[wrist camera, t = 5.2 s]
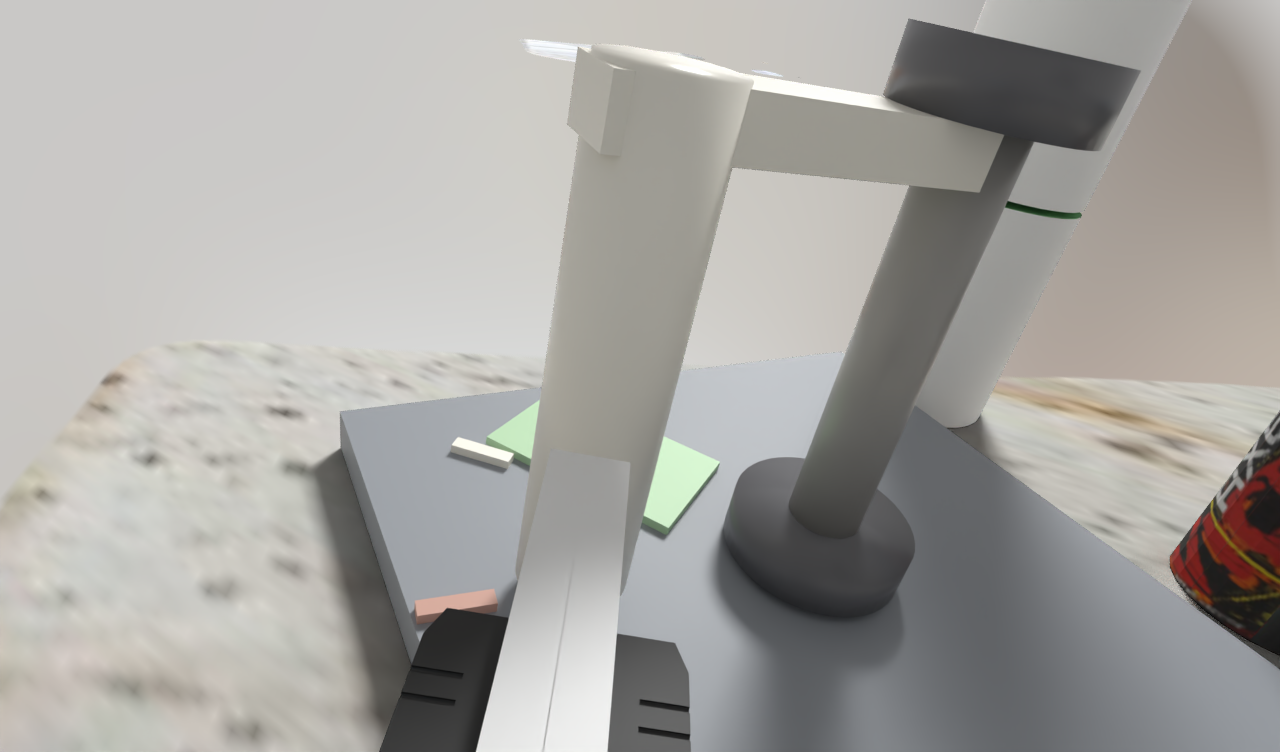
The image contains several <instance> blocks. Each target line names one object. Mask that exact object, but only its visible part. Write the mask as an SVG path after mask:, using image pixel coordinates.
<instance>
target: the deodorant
mask: <svg viewBox="0 0 1280 752" xmlns="http://www.w3.org/2000/svg"><path fill="white" fill-rule="evenodd" d="M1170 567H1171V570H1172V572H1173V574H1174V576H1175V578H1176V580H1177V581H1178V582H1179V584H1180V585H1181V586H1182V587H1183V589H1184V590H1185V591H1186V593H1187V594H1188V595H1189V596H1190V597H1191V598H1192V599H1193V600H1194V601H1196V602H1197V603H1198V604H1199V605H1200V606H1201V607H1202V608H1203V609H1204V610H1205V611H1207V612H1208V613H1209V614H1211V615H1212V616H1213V617H1214V618H1216V619H1217V620H1218V621H1220V622H1221V623H1222V624H1224V625H1225V626H1227V627H1228V628H1230V629H1231V630H1233V631H1235V632H1236V633H1238V634H1240V635H1241V636H1243V637H1244V638H1246V639H1248V640H1249V641H1251V642H1253V643H1255V644H1257V645H1259V646H1261V647H1263V648H1265V649H1267V650H1269V651H1271V652H1273V653H1276V654H1279V655H1280V411H1279V412H1278V414H1277V415H1276V416H1275V418H1274V419H1273V420H1272V422H1271V423H1270V424H1269V426H1268V427H1267V428H1266V430H1265V431H1264V432H1263V434H1262V435H1261V436H1260V438H1259V439H1258V440H1257V442H1256V443H1255V444H1254V445H1253V447H1252V448H1251V449H1250V451H1249V452H1248V453H1247V455H1246V456H1245V457H1244V459H1243V460H1242V461H1241V463H1240V464H1239V465H1238V467H1237V468H1236V469H1235V471H1234V472H1233V473H1232V475H1231V476H1230V477H1229V479H1228V480H1227V481H1226V483H1225V484H1224V485H1223V487H1222V488H1221V489H1220V491H1219V492H1218V493H1217V495H1216V496H1215V497H1214V499H1213V500H1212V501H1211V502H1210V504H1209V505H1208V506H1207V508H1206V509H1205V510H1204V512H1203V513H1202V514H1201V516H1200V517H1199V518H1198V520H1197V521H1196V522H1195V524H1194V525H1193V526H1192V528H1191V529H1190V530H1189V532H1188V533H1187V534H1186V536H1185V537H1184V538H1183V540H1182V541H1181V542H1180V544H1179V545H1178V546H1177V548H1176V549H1175V550H1174V552H1173V553H1172V554H1171V555H1170Z"/></svg>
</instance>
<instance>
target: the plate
mask: <svg viewBox="0 0 1280 752" xmlns="http://www.w3.org/2000/svg"><path fill="white" fill-rule="evenodd" d="M844 356H845V354H843V353H842V352H833V353H825V354H817V355H808V356H800V357H792V358H783V359H775V360H766V361H759V362H750V363H741V364H733V365H724V366H716V367H708V368H699V369H691V370H683V371H680V375H679V379H678V383H677V387H676V390H675V394H674V398H673V402H672V406H671V410H670V414H669V418H668V422H667V426H666V430H665V434H664V437H663V441H662V445H661V449H660V453H659V457H658V461H657V465H656V469H655V473H654V477H653V481H652V484H651V488H650V492H649V496H648V500H647V504H646V508H645V512H644V516H643V520H642V524H641V528H640V531H639V535H638V539H637V543H636V547H635V551H634V555H633V559H632V563H631V567H630V571H629V575H628V578H627V582H626V586H625V589H624V591H623V593H622V595H621V596H620V600H619V613H618V625H617V634H623V635H630V636H636V637H642V638H648V639H654V640H660V641H666V642H673V643H675V644H676V646H677V648H678V650H679V653H680V655H681V657H682V659H683V662H684V664H685V666H686V668H687V670H688V673H689V694H690V708H689V713H690V732H691V735H690V741H691V752H1280V669H1279V668H1277V667H1276V666H1275V665H1273V664H1272V663H1270V662H1269V661H1268V660H1266V659H1265V658H1263V657H1262V656H1261V655H1259V654H1258V653H1257V652H1255V651H1254V650H1252V649H1251V648H1250V647H1248V646H1247V645H1246V644H1244V643H1243V642H1241V641H1240V640H1239V639H1237V638H1236V637H1234V636H1233V635H1232V634H1230V633H1229V632H1228V631H1226V630H1225V629H1223V628H1222V627H1221V626H1219V625H1218V624H1217V623H1215V622H1214V621H1212V620H1211V619H1210V618H1208V617H1207V616H1205V615H1204V614H1203V613H1201V612H1200V611H1199V610H1197V609H1196V608H1194V607H1193V606H1192V605H1190V604H1189V603H1187V602H1186V601H1185V600H1183V599H1182V598H1181V597H1179V596H1178V595H1176V594H1175V593H1174V592H1172V591H1171V590H1170V589H1168V588H1167V587H1165V586H1164V585H1163V584H1161V583H1160V582H1158V581H1157V580H1156V579H1154V578H1153V577H1152V576H1150V575H1149V574H1147V573H1146V572H1145V571H1143V570H1142V569H1141V568H1139V567H1138V566H1136V565H1135V564H1134V563H1132V562H1131V561H1129V560H1128V559H1127V558H1125V557H1124V556H1123V555H1121V554H1120V553H1118V552H1117V551H1116V550H1114V549H1113V548H1111V547H1110V546H1109V545H1107V544H1106V543H1105V542H1103V541H1102V540H1100V539H1099V538H1098V537H1096V536H1095V535H1094V534H1092V533H1091V532H1089V531H1088V530H1087V529H1085V528H1084V527H1082V526H1081V525H1080V524H1078V523H1077V522H1076V521H1074V520H1073V519H1071V518H1070V517H1069V516H1067V515H1066V514H1065V513H1063V512H1062V511H1060V510H1059V509H1058V508H1056V507H1055V506H1053V505H1052V504H1051V503H1049V502H1048V501H1047V500H1045V499H1044V498H1042V497H1041V496H1040V495H1038V494H1037V493H1035V492H1034V491H1033V490H1031V489H1030V488H1029V487H1027V486H1026V485H1024V484H1023V483H1022V482H1020V481H1019V480H1018V479H1016V478H1015V477H1013V476H1012V475H1011V474H1009V473H1008V472H1006V471H1005V470H1004V469H1002V468H1001V467H1000V466H998V465H997V464H995V463H994V462H993V461H991V460H990V459H989V458H987V457H986V456H984V455H983V454H982V453H980V452H979V451H977V450H976V449H975V448H973V447H972V446H971V445H969V444H968V443H966V442H965V441H964V440H962V439H961V438H959V437H958V436H957V435H955V434H954V433H953V432H951V431H950V430H948V429H947V428H946V427H944V426H943V425H942V424H940V423H939V422H937V421H936V420H935V419H933V418H932V417H930V416H929V415H928V414H926V413H925V412H924V411H922V410H921V409H919V408H918V407H917V406H914V408H913V410H912V413H911V415H910V417H909V419H908V421H907V424H906V426H905V428H904V430H903V432H902V435H901V437H900V439H899V441H898V443H897V446H896V448H895V450H894V452H893V454H892V457H891V459H890V461H889V463H888V465H887V468H886V470H885V472H884V474H883V476H882V479H881V481H880V483H879V485H878V488H877V489H878V490H879V491H880V492H882V493H883V494H884V495H885V496H886V497H887V498H889V499H890V500H891V501H892V502H893V503H894V504H895V505H896V507H897V508H898V509H899V510H900V511H901V513H902V514H903V515H904V517H905V518H906V520H907V522H908V523H909V525H910V527H911V530H912V532H913V535H914V540H915V553H914V557H913V560H912V561H911V563H910V565H909V567H908V569H907V571H906V573H905V575H904V577H903V579H902V581H901V583H900V585H899V587H898V588H897V590H896V592H895V594H894V596H893V598H892V599H891V600H890V602H889V603H888V604H887V605H886V606H884V607H883V608H881V609H880V610H878V611H876V612H874V613H871V614H868V615H864V616H858V617H831V616H825V615H820V614H815V613H812V612H809V611H806V610H802V609H800V608H798V607H795V606H793V605H790V604H788V603H786V602H784V601H782V600H780V599H778V598H777V597H775V596H774V595H772V594H770V593H769V592H767V591H766V590H764V589H763V588H762V587H760V586H759V585H758V584H757V583H755V582H754V581H753V580H752V579H751V578H750V577H749V576H748V575H747V574H746V573H745V572H744V571H743V570H742V569H741V567H740V566H739V565H738V563H737V562H736V561H735V559H734V558H733V556H732V554H731V552H730V551H729V548H728V546H727V543H726V540H725V535H724V521H725V516H726V513H727V510H728V507H729V504H730V501H731V498H732V495H733V492H734V489H735V486H736V483H737V481H738V478H739V477H740V475H741V474H742V472H744V471H745V470H746V469H747V468H748V467H750V466H751V465H753V464H755V463H757V462H759V461H762V460H766V459H770V458H777V457H797V458H804V459H805V458H806V455H807V453H808V450H809V447H810V445H811V442H812V440H813V437H814V434H815V432H816V429H817V426H818V424H819V421H820V419H821V416H822V413H823V411H824V408H825V405H826V403H827V400H828V398H829V395H830V392H831V390H832V387H833V384H834V382H835V379H836V377H837V374H838V371H839V369H840V366H841V363H842V361H843V358H844ZM541 388H542V387H541ZM541 388H532V389H524V390H515V391H507V392H499V393H490V394H482V395H474V396H465V397H457V398H449V399H440V400H432V401H424V402H415V403H407V404H398V405H390V406H382V407H373V408H365V409H357V410H348V411H340V438H341V449H342V452H343V455H344V459H345V462H346V465H347V468H348V471H349V474H350V477H351V480H352V483H353V486H354V489H355V492H356V495H357V499H358V502H359V505H360V508H361V511H362V514H363V517H364V520H365V523H366V526H367V529H368V532H369V535H370V539H371V542H372V545H373V548H374V551H375V554H376V557H377V560H378V563H379V566H380V569H381V572H382V576H383V579H384V582H385V585H386V588H387V591H388V594H389V597H390V600H391V603H392V606H393V609H394V612H395V616H396V619H397V622H398V625H399V628H400V631H401V634H402V637H403V640H404V643H405V646H406V649H407V652H408V656H409V659H410V662H411V665H412V662H413V659H414V657H415V654H416V651H417V649H418V646H419V643H420V640H421V638H422V635H423V633H424V632H425V631H426V630H427V628H428V627H429V626H430V625H431V624H432V623H433V622H434V621H435V620H436V619H437V618H438V617H439V616H440V615H441V614H442V613H443V612H444V610H445V609H446V608H452V609H458V610H464V611H471V612H477V613H483V614H489V615H495V616H501V617H507V618H509V616H510V612H511V608H512V604H513V600H514V596H515V592H516V588H517V584H518V580H517V577H516V572H515V566H516V559H517V552H518V545H519V538H520V532H521V525H522V518H523V511H524V504H525V498H526V491H527V484H528V477H529V470H530V463H531V457H532V450H533V443H534V436H535V429H536V423H537V416H538V409H539V402H540V395H541Z"/></svg>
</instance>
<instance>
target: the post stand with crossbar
mask: <svg viewBox="0 0 1280 752" xmlns="http://www.w3.org/2000/svg"><path fill="white" fill-rule="evenodd" d="M1140 72H1141V70H1136V69H1132V68H1128V67H1123V66H1119V65H1114V64H1110V63H1105V62H1101V61H1096V60H1092V59H1087V58H1083V57H1079V56H1074V55H1070V54H1065V53H1061V52H1056V51H1052V50H1047V49H1043V48H1038V47H1034V46H1029V45H1025V44H1020V43H1016V42H1012V41H1007V40H1003V39H998V38H994V37H989V36H985V35H980V34H976V33H971V32H967V31H962V30H957V29H953V28H948V27H944V26H940V25H935V24H931V23H926V22H922V21H917V20H913V19H908V22H907V25H906V28H905V31H904V34H903V37H902V40H901V43H900V46H899V49H898V52H897V55H896V58H895V61H894V63H893V66H892V70H891V72H890V75H889V78H888V81H887V84H886V87H885V90H884V93H883V95H884V96H885V97H882V96H876V95H870V94H864V93H858V92H852V91H845V90H839V89H833V88H827V87H821V86H815V85H809V84H802V83H797V82H791V81H785V80H779V79H772V78H766V77H760V76H754V75H748V74H742V73H739V72H736V71H733V70H730V69H727V68H724V67H721V66H717V65H714V64H710V63H707V62H703V61H699V60H695V59H691V58H687V57H683V56H678V55H674V54H669V53H664V52H659V51H654V50H649V49H643V48H636V47H630V46H622V45H612V44H595V45H592V48H591V49H590V48H583V47H578V50H577V57H576V64H575V72H574V79H573V86H572V93H571V101H570V108H569V116H568V123H567V125H569V126H570V127H571V128H572V129H573V130H574V131H575V132H576V133H577V134H578V135H579V136H578V143H577V150H576V157H575V163H574V170H573V177H572V184H571V191H570V198H569V204H568V211H567V218H566V225H565V232H564V238H563V245H562V252H561V260H560V266H559V273H558V279H557V286H556V293H555V300H554V307H553V314H552V320H551V327H550V334H549V341H548V348H547V354H546V361H545V368H544V375H543V382H542V388H541V395H540V402H539V409H538V416H537V423H536V429H535V436H534V443H533V450H532V457H531V463H530V470H529V477H528V484H527V491H526V498H525V504H524V511H523V518H522V525H521V532H520V538H519V545H518V552H517V559H516V566H515V572H516V577H517V580H519V576H520V572H521V568H522V564H523V559H524V555H525V551H526V547H527V543H528V539H529V535H530V531H531V527H532V523H533V519H534V515H535V511H536V507H537V503H538V499H539V495H540V491H541V487H542V483H543V479H544V475H545V471H546V467H547V462H548V458H549V454H550V450H551V448H552V449H557V450H563V451H568V452H574V453H580V454H585V455H591V456H596V457H602V458H608V459H613V460H619V461H624V462H630V475H629V488H628V500H627V513H626V525H625V538H624V550H623V563H622V575H621V588H620V596H621V595H622V593H623V591H624V589H625V586H626V582H627V578H628V575H629V571H630V567H631V563H632V559H633V555H634V551H635V547H636V543H637V539H638V535H639V531H640V528H641V524H642V520H643V516H644V512H645V508H646V504H647V500H648V496H649V492H650V488H651V484H652V481H653V477H654V473H655V469H656V465H657V461H658V457H659V453H660V449H661V445H662V441H663V437H664V434H665V430H666V426H667V422H668V418H669V414H670V410H671V406H672V402H673V398H674V394H675V390H676V387H677V383H678V379H679V375H680V371H681V367H682V363H683V359H684V355H685V351H686V347H687V343H688V339H689V335H690V332H691V328H692V324H693V319H694V316H695V312H696V308H697V304H698V300H699V296H700V292H701V289H702V284H703V280H704V277H705V273H706V269H707V265H708V261H709V257H710V253H711V249H712V245H713V241H714V238H715V234H716V229H717V226H718V222H719V218H720V214H721V210H722V206H723V202H724V198H725V194H726V191H727V187H728V183H729V179H730V175H731V171H732V168H742V169H752V170H762V171H772V172H781V173H791V174H801V175H811V176H821V177H831V178H841V179H851V180H861V181H870V182H880V183H890V184H899V185H909V188H908V190H907V193H906V195H905V198H904V201H903V203H902V206H901V209H900V211H899V214H898V216H897V219H896V222H895V224H894V227H893V230H892V232H891V235H890V237H889V240H888V243H887V246H886V248H885V251H884V253H883V256H882V258H881V261H880V264H879V266H878V269H877V272H876V274H875V277H874V279H873V282H872V285H871V287H870V290H869V293H868V295H867V298H866V301H865V303H864V306H863V308H862V311H861V314H860V316H859V319H858V322H857V324H856V327H855V329H854V332H853V335H852V337H851V340H850V342H849V345H848V348H847V350H846V353H845V356H844V358H843V361H842V363H841V366H840V369H839V371H838V374H837V377H836V379H835V382H834V384H833V387H832V390H831V392H830V395H829V398H828V400H827V403H826V405H825V408H824V411H823V413H822V416H821V419H820V421H819V424H818V426H817V429H816V432H815V434H814V437H813V440H812V442H811V445H810V447H809V450H808V453H807V455H806V458H805V459H804V458H797V457H777V458H770V459H766V460H762V461H759V462H757V463H755V464H753V465H751V466H750V467H748V468H747V469H746V470H745V471H744V472H742V474H741V475H740V477H739V478H738V481H737V483H736V486H735V489H734V492H733V495H732V498H731V501H730V504H729V507H728V510H727V513H726V516H725V521H724V535H725V540H726V543H727V546H728V548H729V551H730V552H731V554H732V556H733V558H734V559H735V561H736V562H737V563H738V565H739V566H740V567H741V569H742V570H743V571H744V572H745V573H746V574H747V575H748V576H749V577H750V578H751V579H752V580H753V581H754V582H755V583H757V584H758V585H759V586H760V587H762V588H763V589H764V590H766V591H767V592H769V593H770V594H772V595H774V596H775V597H777V598H778V599H780V600H782V601H784V602H786V603H788V604H790V605H793V606H795V607H798V608H800V609H802V610H806V611H809V612H812V613H815V614H820V615H825V616H831V617H858V616H864V615H868V614H871V613H874V612H876V611H878V610H880V609H881V608H883V607H884V606H886V605H887V604H888V603H889V602H890V600H891V599H892V598H893V596H894V594H895V592H896V590H897V588H898V587H899V585H900V583H901V581H902V579H903V577H904V575H905V573H906V571H907V569H908V567H909V565H910V563H911V561H912V560H913V557H914V553H915V540H914V535H913V532H912V530H911V527H910V525H909V523H908V522H907V520H906V518H905V517H904V515H903V514H902V513H901V511H900V510H899V509H898V508H897V507H896V505H895V504H894V503H893V502H892V501H891V500H890V499H889V498H887V497H886V496H885V495H884V494H883V493H882V492H880V491H879V490H878V489H877V488H878V485H879V483H880V481H881V479H882V476H883V474H884V472H885V470H886V468H887V465H888V463H889V461H890V459H891V457H892V454H893V452H894V450H895V448H896V446H897V443H898V441H899V439H900V437H901V435H902V432H903V430H904V428H905V426H906V424H907V421H908V419H909V417H910V415H911V413H912V410H913V408H914V406H915V404H916V402H917V399H918V397H919V395H920V393H921V391H922V388H923V386H924V384H925V382H926V380H927V377H928V375H929V373H930V371H931V369H932V366H933V364H934V362H935V360H936V358H937V355H938V353H939V351H940V349H941V347H942V344H943V342H944V340H945V338H946V336H947V333H948V331H949V329H950V327H951V325H952V322H953V320H954V318H955V316H956V314H957V311H958V309H959V307H960V305H961V303H962V300H963V298H964V296H965V294H966V292H967V289H968V287H969V285H970V283H971V281H972V278H973V276H974V274H975V272H976V270H977V267H978V265H979V263H980V261H981V259H982V256H983V254H984V252H985V250H986V248H987V245H988V243H989V241H990V239H991V236H992V234H993V232H994V230H995V228H996V225H997V223H998V221H999V219H1000V217H1001V214H1002V212H1003V210H1004V208H1005V206H1006V203H1007V201H1008V199H1009V197H1010V195H1011V192H1012V190H1013V188H1014V186H1015V184H1016V181H1017V179H1018V177H1019V175H1020V173H1021V170H1022V168H1023V166H1024V164H1025V162H1026V159H1027V157H1028V155H1029V153H1030V151H1031V148H1032V146H1033V144H1034V142H1038V143H1043V144H1048V145H1053V146H1058V147H1064V148H1070V149H1076V150H1084V151H1101V150H1102V148H1103V146H1104V144H1105V142H1106V140H1107V138H1108V136H1109V134H1110V132H1111V130H1112V128H1113V126H1114V124H1115V122H1116V120H1117V118H1118V116H1119V114H1120V112H1121V110H1122V108H1123V106H1124V104H1125V102H1126V100H1127V98H1128V96H1129V94H1130V92H1131V90H1132V88H1133V86H1134V84H1135V82H1136V80H1137V78H1138V76H1139V74H1140Z"/></svg>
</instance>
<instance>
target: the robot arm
mask: <svg viewBox="0 0 1280 752" xmlns="http://www.w3.org/2000/svg"><path fill="white" fill-rule="evenodd" d="M629 475H630V462H624V461H619V460H613V459H608V458H602V457H596V456H591V455H585V454H580V453H574V452H568V451H563V450H557V449H552V448H551V450H550V454H549V458H548V462H547V467H546V471H545V475H544V479H543V483H542V487H541V491H540V495H539V499H538V503H537V507H536V511H535V515H534V519H533V523H532V527H531V531H530V535H529V539H528V543H527V547H526V551H525V555H524V559H523V564H522V568H521V572H520V576H519V580H518V584H517V588H516V592H515V596H514V600H513V604H512V608H511V612H510V616H509V618H507V617H501V616H495V615H489V614H483V613H477V612H471V611H464V610H458V609H452V608H446V609H445V610H444V612H443V613H442V614H441V615H440V616H439V617H438V618H437V619H436V620H435V621H434V622H433V623H432V624H431V625H430V626H429V627H428V628H427V630H426V631H425V632H424V633H423V635H422V638H421V640H420V643H419V646H418V649H417V651H416V654H415V657H414V659H413V662H412V665H411V669H410V671H409V673H408V676H407V678H406V681H405V684H404V686H403V689H402V692H401V696H400V698H399V700H398V703H397V705H396V708H395V711H394V713H393V716H392V719H391V721H390V724H389V727H388V730H387V732H386V735H385V738H384V740H383V743H382V746H381V748H380V751H379V752H691V741H690V735H691V732H690V713H689V708H690V694H689V673H688V670H687V668H686V666H685V664H684V662H683V659H682V657H681V655H680V653H679V650H678V648H677V646H676V644H675V643H673V642H666V641H660V640H654V639H648V638H642V637H636V636H630V635H623V634H617V625H618V613H619V600H620V588H621V575H622V563H623V550H624V538H625V525H626V513H627V500H628V488H629Z"/></svg>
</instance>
